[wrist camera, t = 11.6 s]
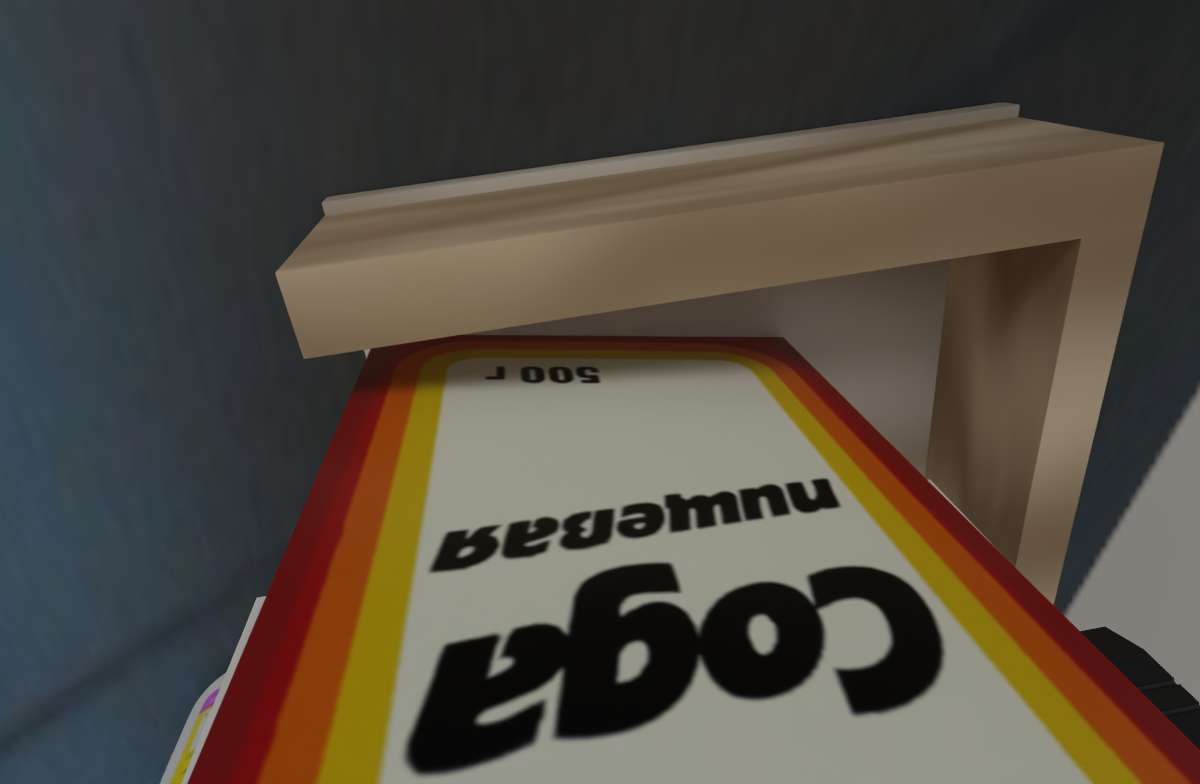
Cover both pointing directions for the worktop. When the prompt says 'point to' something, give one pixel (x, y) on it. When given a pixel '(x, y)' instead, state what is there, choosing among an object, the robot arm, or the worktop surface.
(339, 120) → the worktop surface
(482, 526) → the baking soda box
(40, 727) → the worktop surface
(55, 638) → the worktop surface
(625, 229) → the wooden corner frame
